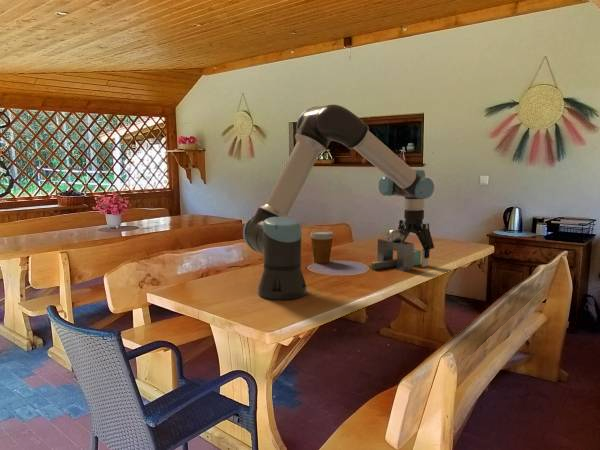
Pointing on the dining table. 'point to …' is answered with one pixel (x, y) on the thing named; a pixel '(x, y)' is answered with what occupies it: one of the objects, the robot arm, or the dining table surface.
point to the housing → (398, 245)
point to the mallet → (394, 262)
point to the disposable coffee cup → (321, 245)
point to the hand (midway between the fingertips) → (412, 263)
